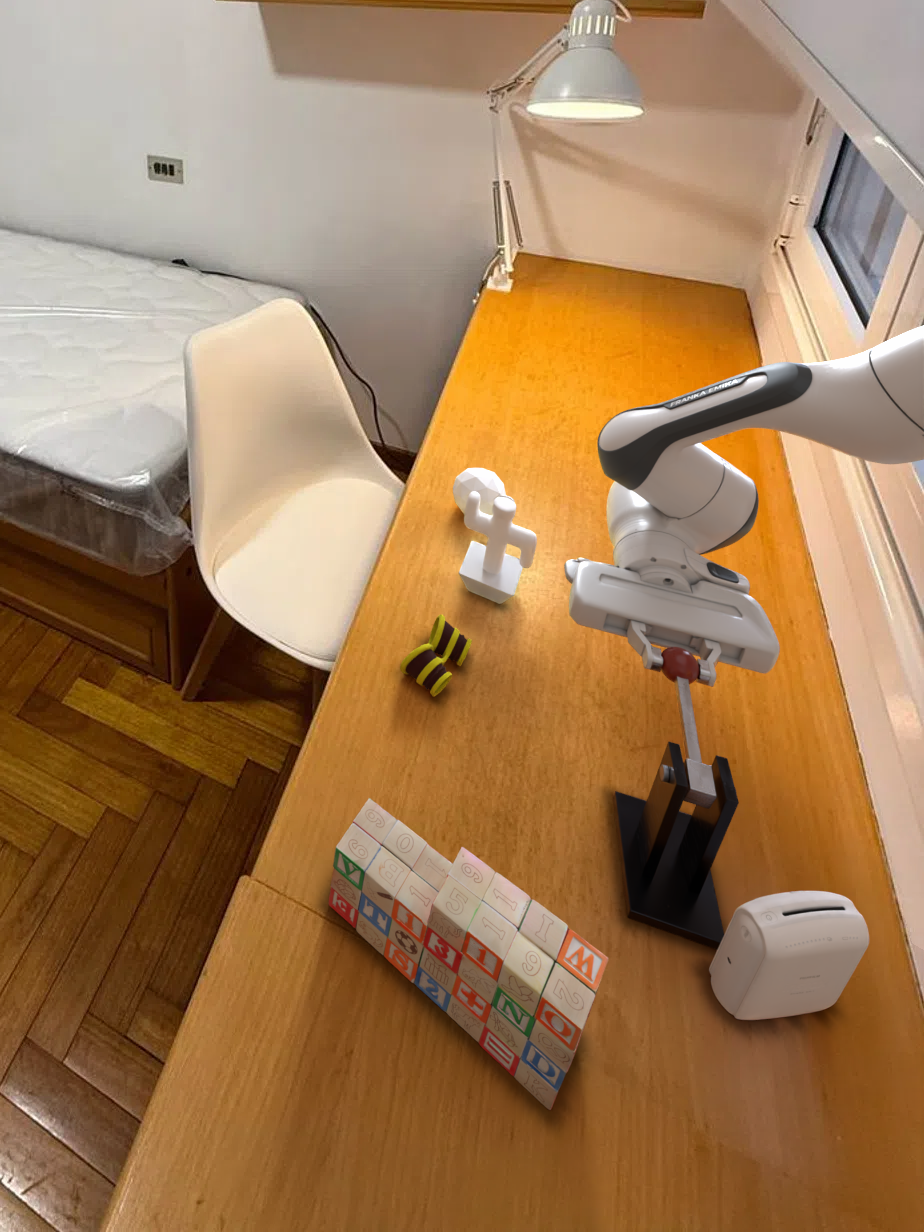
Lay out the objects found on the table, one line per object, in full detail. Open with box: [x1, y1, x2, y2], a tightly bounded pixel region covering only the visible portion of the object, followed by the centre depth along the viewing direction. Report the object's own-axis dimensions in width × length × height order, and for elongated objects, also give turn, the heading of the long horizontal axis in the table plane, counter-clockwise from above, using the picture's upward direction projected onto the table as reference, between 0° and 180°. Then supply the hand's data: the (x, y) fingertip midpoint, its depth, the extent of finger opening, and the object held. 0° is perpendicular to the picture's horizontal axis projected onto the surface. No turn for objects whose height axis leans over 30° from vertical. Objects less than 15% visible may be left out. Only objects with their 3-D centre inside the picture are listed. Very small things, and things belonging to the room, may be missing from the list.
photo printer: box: [708, 890, 870, 1021], centre depth 72 cm, size 10×4×12 cm, turn 96°
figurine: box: [458, 491, 538, 605], centre depth 113 cm, size 7×9×15 cm
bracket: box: [612, 741, 740, 951], centre depth 80 cm, size 12×8×15 cm, turn 160°
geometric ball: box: [452, 467, 507, 516], centre depth 128 cm, size 8×8×8 cm
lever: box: [661, 647, 717, 809], centre depth 83 cm, size 15×4×4 cm, turn 160°
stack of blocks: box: [328, 797, 609, 1111], centre depth 73 cm, size 21×6×12 cm, turn 47°
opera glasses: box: [399, 613, 473, 698], centre depth 103 cm, size 10×5×5 cm, turn 137°
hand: (680, 673), depth 87 cm, fingers closed on lever, 3 cm apart
